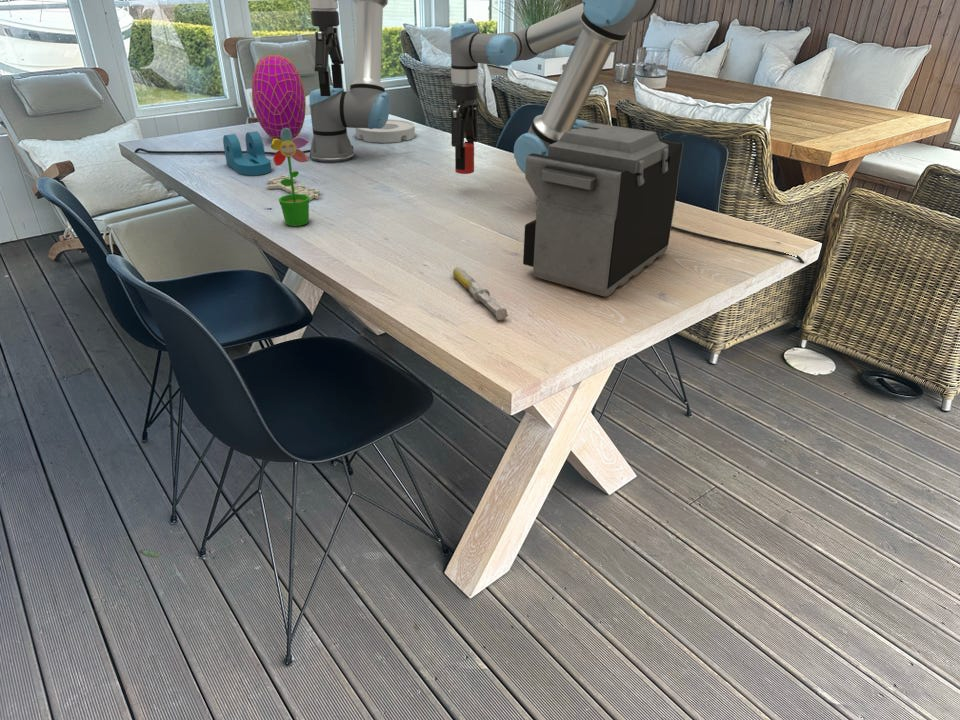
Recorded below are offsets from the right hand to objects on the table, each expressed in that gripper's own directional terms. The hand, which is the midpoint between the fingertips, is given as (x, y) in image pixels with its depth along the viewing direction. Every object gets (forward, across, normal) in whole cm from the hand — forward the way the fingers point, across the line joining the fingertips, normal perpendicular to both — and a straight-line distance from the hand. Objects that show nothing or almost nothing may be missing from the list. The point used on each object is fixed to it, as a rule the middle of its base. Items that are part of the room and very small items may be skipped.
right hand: (464, 166), depth 206 cm
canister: (+2, 0, 0) cm, 2 cm away
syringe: (+8, +67, +35) cm, 76 cm away
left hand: (-20, +12, -37) cm, 44 cm away
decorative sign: (+7, +22, -48) cm, 54 cm away
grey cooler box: (+8, +39, +53) cm, 66 cm away
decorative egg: (+7, -30, -91) cm, 96 cm away
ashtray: (+7, -53, -60) cm, 80 cm away
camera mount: (+7, +8, -75) cm, 76 cm away
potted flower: (+8, +45, -28) cm, 54 cm away
